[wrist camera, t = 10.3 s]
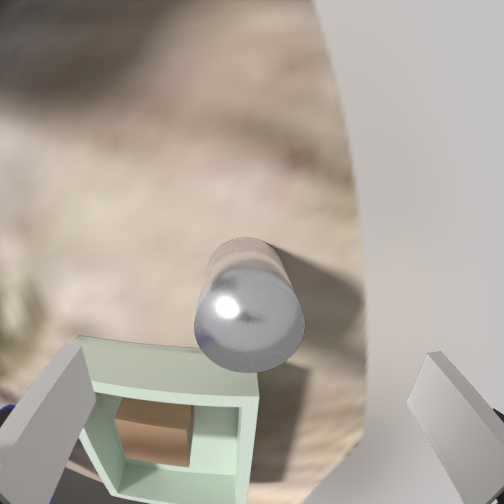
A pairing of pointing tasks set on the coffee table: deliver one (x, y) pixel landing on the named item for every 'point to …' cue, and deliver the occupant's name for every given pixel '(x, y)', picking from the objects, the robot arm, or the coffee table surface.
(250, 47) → the coffee table surface
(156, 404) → the walnut block
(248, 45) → the coffee table surface
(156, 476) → the tote
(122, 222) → the coffee table surface
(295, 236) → the coffee table surface
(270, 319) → the canister
